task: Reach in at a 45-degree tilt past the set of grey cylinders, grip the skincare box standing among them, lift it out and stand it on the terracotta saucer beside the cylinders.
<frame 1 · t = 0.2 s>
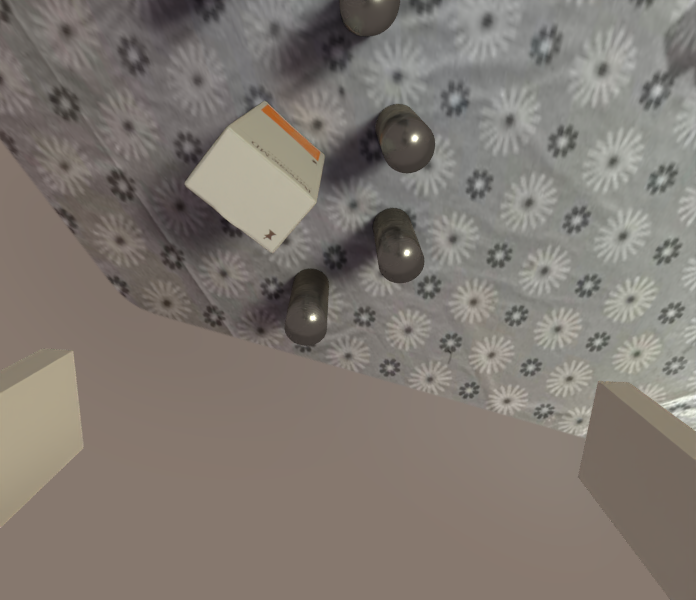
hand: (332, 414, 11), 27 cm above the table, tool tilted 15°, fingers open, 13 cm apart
set of grey cylinders: (278, 148, 34), on the table
skincare box: (279, 147, 34), on the table
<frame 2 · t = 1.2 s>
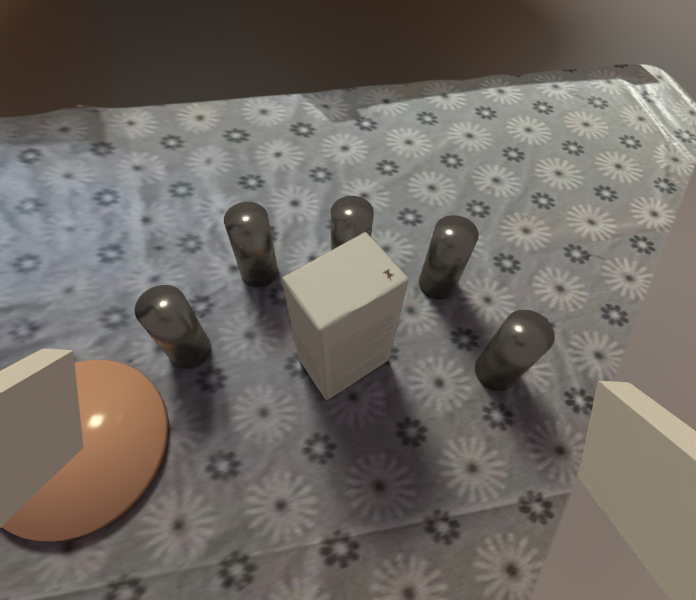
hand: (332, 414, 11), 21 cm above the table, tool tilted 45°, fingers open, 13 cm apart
set of grey cylinders: (342, 360, 35), on the table
saucer: (80, 444, 31), on the table
skincare box: (342, 361, 35), on the table
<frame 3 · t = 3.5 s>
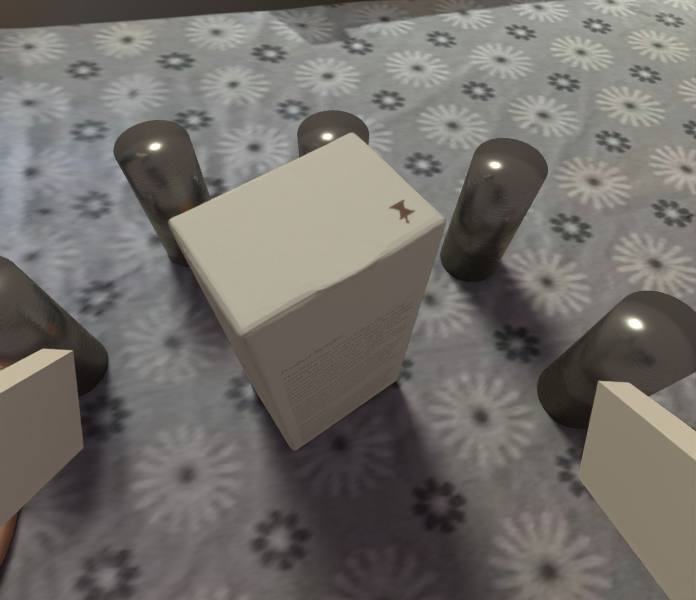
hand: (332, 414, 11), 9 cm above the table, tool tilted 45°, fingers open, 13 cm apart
set of grey cylinders: (321, 381, 22), on the table
skincare box: (321, 382, 22), on the table
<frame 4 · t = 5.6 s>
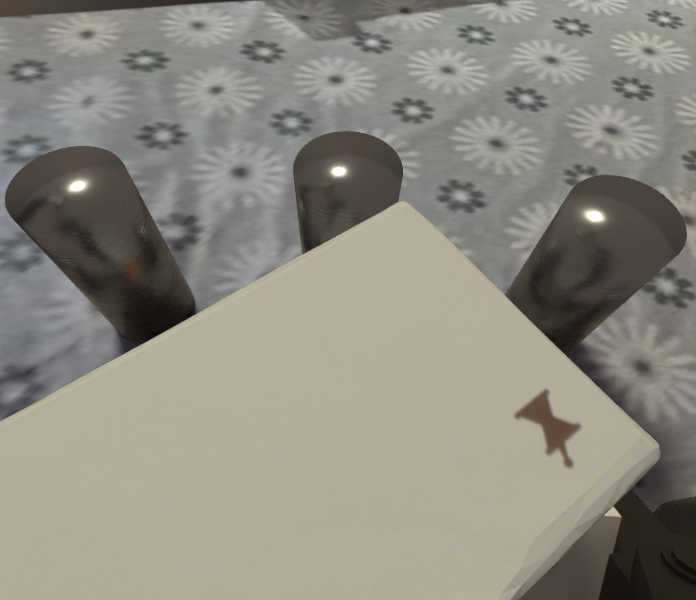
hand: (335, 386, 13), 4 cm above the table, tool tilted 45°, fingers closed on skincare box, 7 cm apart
set of grey cylinders: (328, 530, 15), on the table
skincare box: (328, 530, 15), on the table, touching gripper
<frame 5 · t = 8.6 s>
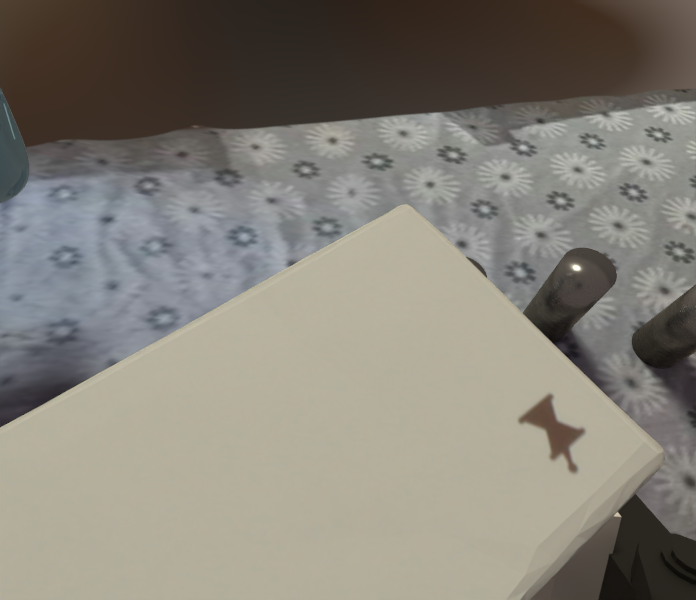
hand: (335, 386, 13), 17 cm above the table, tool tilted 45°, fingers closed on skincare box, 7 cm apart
set of grey cylinders: (563, 449, 28), on the table
skincare box: (328, 532, 15), point 13 cm above the table, touching gripper
when the fingers open (6 cm above the table, at t = 11.4 s): skincare box drops 1 cm, resting on saucer.
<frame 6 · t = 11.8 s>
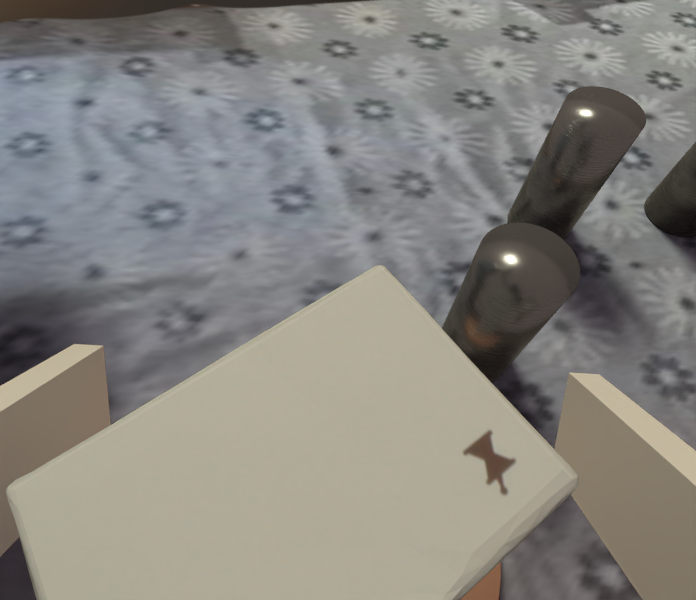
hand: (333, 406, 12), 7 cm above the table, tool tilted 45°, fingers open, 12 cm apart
saucer: (329, 533, 16), on the table
skincare box: (323, 535, 16), point 1 cm above the table, touching saucer
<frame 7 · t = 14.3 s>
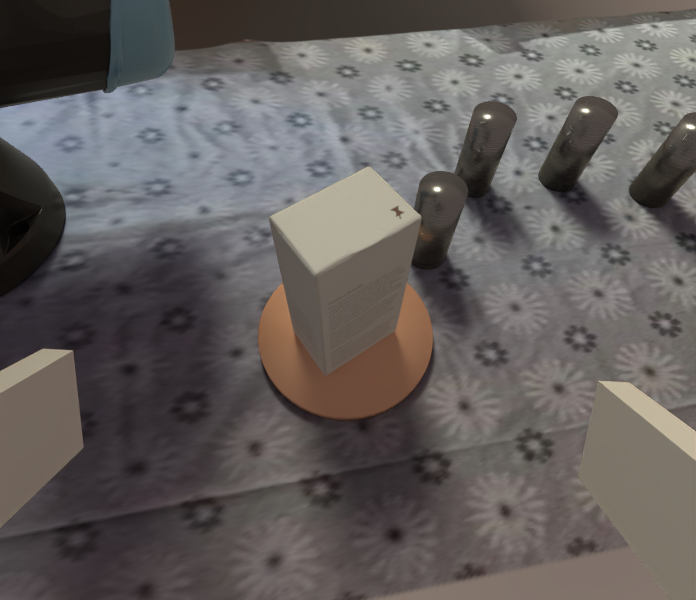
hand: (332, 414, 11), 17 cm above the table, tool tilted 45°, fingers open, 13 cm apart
set of grey cylinders: (577, 261, 35), on the table
saucer: (345, 335, 32), on the table
skincare box: (343, 332, 31), point 1 cm above the table, touching saucer
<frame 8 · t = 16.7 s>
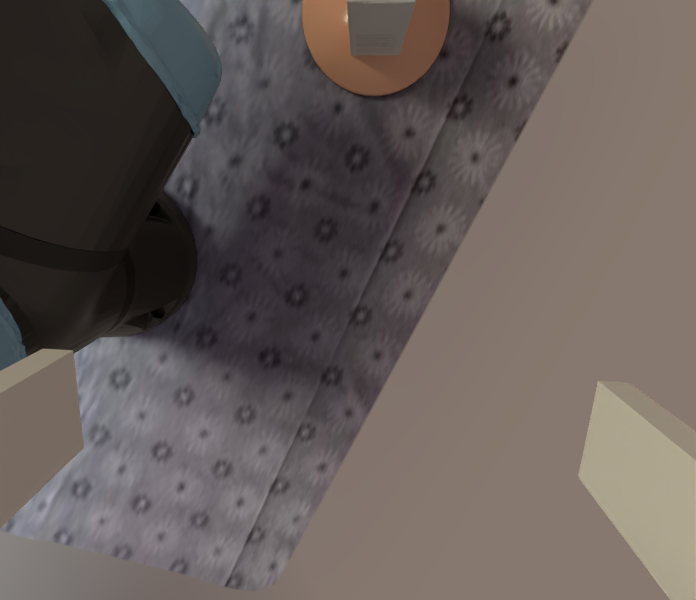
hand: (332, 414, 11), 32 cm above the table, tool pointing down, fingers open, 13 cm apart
saucer: (375, 18, 37), on the table
skincare box: (375, 18, 37), point 1 cm above the table, touching saucer
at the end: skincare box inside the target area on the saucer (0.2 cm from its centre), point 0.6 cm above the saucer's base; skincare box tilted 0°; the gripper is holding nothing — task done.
